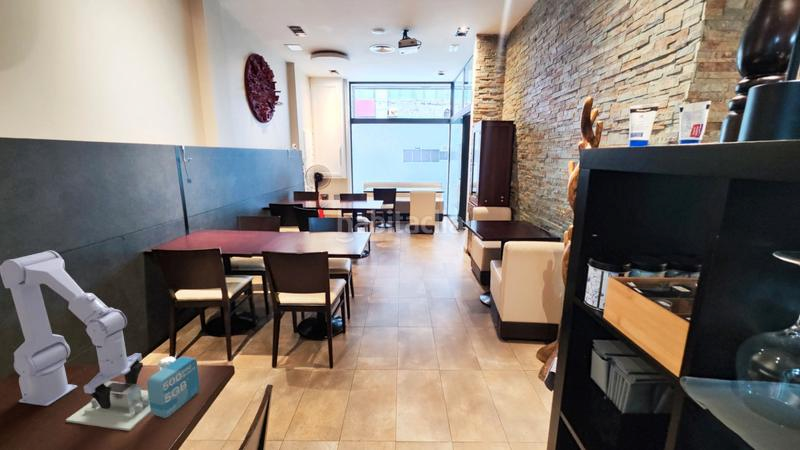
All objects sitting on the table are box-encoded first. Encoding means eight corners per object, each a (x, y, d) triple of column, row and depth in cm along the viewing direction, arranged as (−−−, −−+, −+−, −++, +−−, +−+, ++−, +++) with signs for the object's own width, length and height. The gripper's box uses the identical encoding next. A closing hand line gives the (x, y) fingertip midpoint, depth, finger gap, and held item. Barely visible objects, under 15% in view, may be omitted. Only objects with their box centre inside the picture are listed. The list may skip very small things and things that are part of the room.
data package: (164, 421, 88) (159, 383, 85) (151, 417, 89) (145, 379, 86) (200, 390, 99) (196, 356, 97) (188, 387, 100) (184, 353, 98)
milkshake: (184, 381, 103) (181, 353, 101) (165, 391, 98) (161, 362, 96) (176, 376, 105) (173, 349, 103) (158, 385, 101) (154, 357, 99)
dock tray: (66, 421, 86) (64, 412, 86) (113, 387, 99) (112, 379, 98) (129, 430, 84) (128, 421, 84) (169, 395, 97) (168, 387, 97)
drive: (97, 408, 90) (94, 390, 89) (111, 398, 94) (108, 380, 93) (129, 413, 89) (126, 394, 88) (142, 402, 93) (139, 384, 92)
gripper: (98, 373, 81) (106, 419, 84) (148, 341, 95) (154, 381, 98) (73, 370, 81) (82, 416, 84) (127, 339, 95) (133, 378, 98)
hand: (119, 397), depth 91 cm, fingers open, 7 cm apart
